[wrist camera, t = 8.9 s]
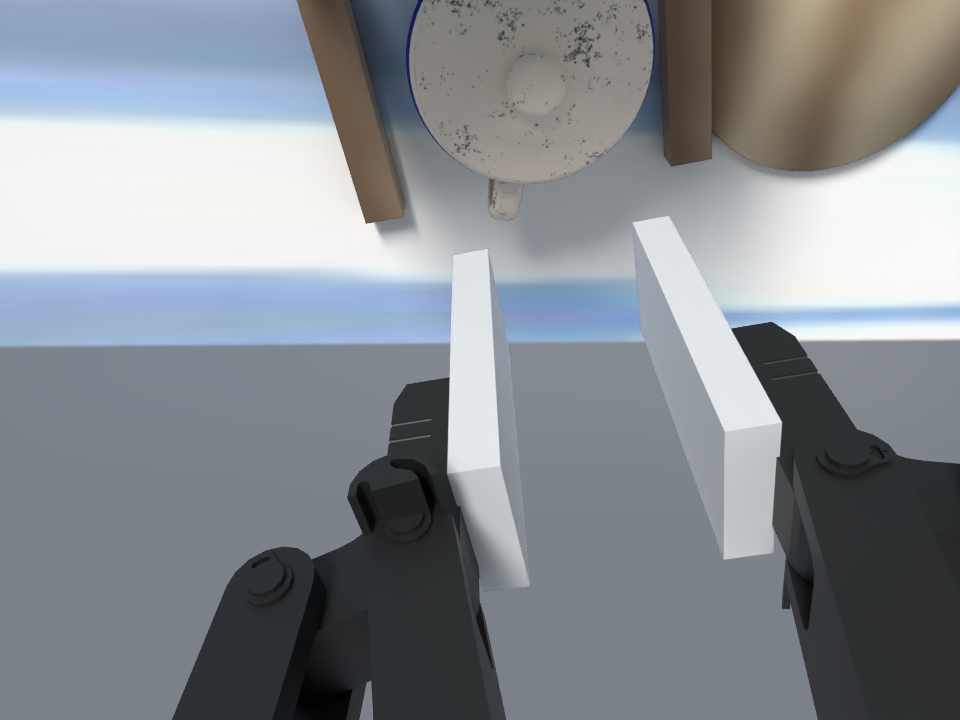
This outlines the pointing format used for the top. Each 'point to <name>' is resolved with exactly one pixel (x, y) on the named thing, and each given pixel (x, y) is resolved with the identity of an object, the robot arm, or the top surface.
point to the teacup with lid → (528, 84)
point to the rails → (365, 135)
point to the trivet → (828, 75)
